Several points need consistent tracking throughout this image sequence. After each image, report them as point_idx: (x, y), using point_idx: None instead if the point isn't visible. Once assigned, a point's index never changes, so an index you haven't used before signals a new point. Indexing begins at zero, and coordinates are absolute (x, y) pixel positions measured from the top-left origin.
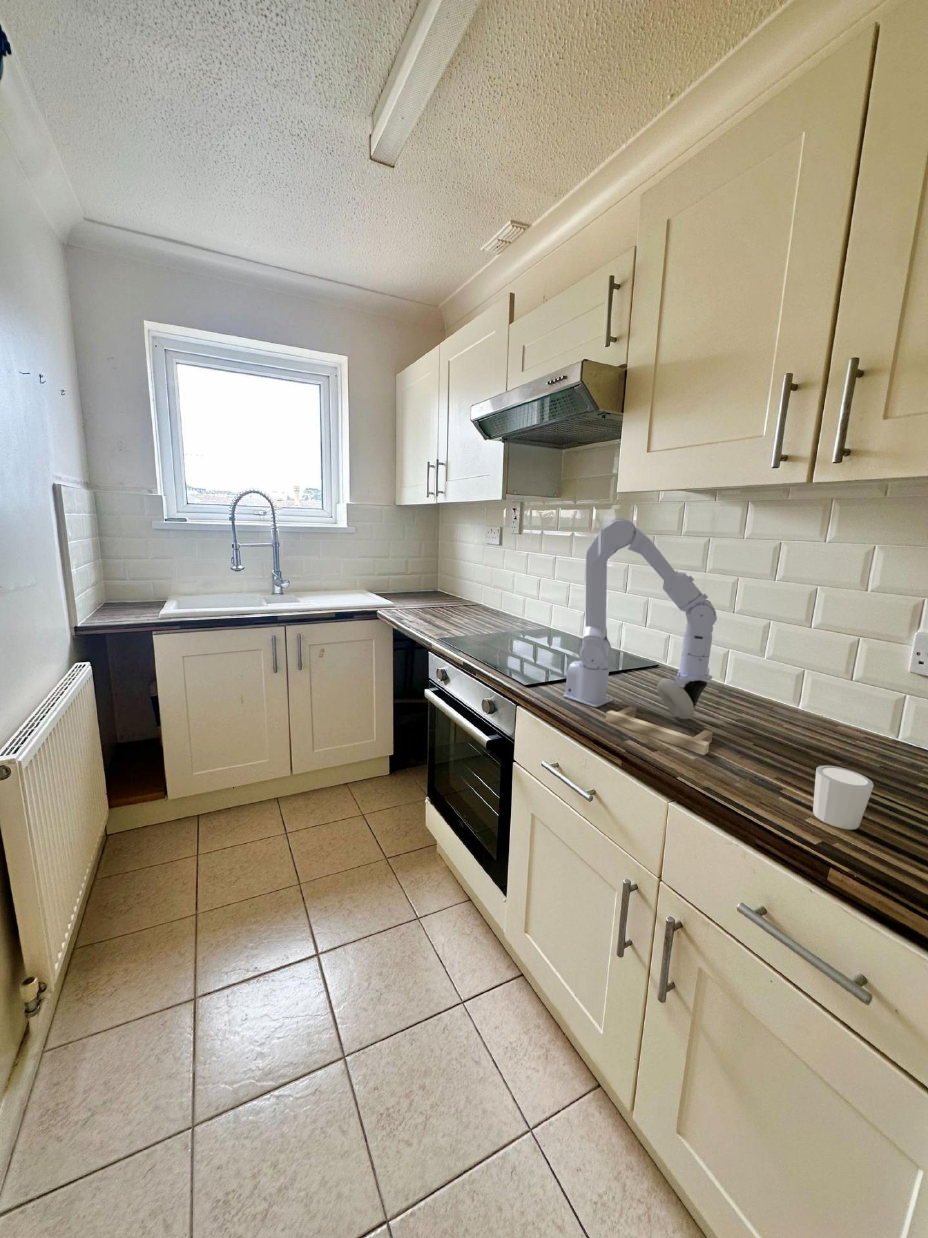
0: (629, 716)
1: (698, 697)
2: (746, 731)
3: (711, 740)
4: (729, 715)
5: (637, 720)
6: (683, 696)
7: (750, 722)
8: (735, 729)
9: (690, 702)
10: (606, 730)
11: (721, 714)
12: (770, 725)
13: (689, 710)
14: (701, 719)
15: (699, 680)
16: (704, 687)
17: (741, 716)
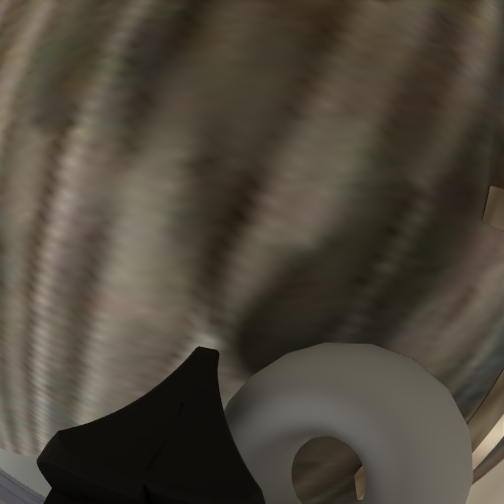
0: None
1: (157, 398)
2: (192, 37)
3: (494, 187)
4: (25, 176)
5: (488, 442)
6: (471, 476)
7: (46, 73)
8: (204, 87)
9: (450, 422)
10: (498, 447)
11: (37, 209)
12: (38, 12)
13: (437, 380)
14: (184, 280)
15: (56, 490)
16: (97, 443)
17: (6, 132)
